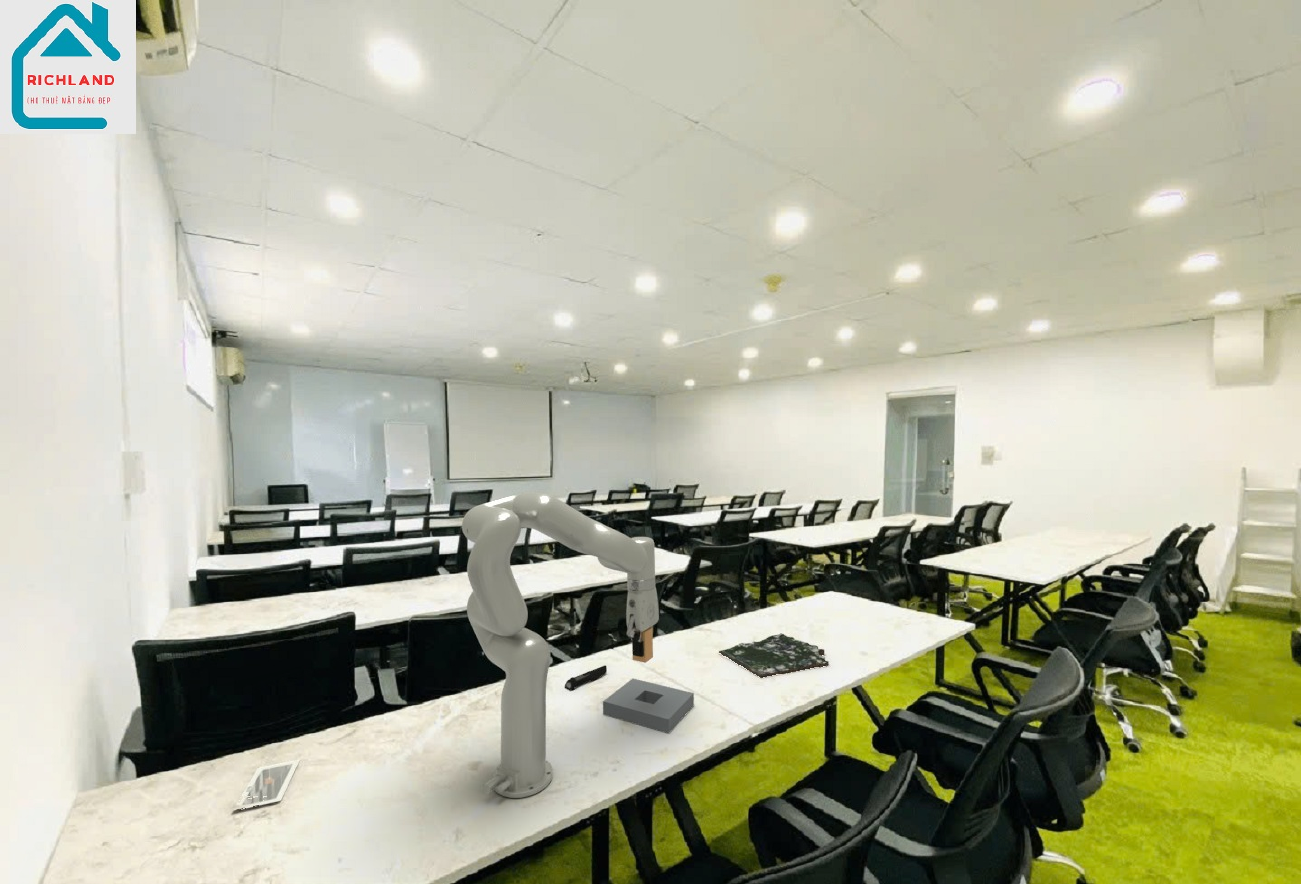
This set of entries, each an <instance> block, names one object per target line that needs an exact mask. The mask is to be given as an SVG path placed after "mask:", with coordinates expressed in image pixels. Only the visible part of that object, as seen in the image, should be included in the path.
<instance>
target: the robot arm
mask: <svg viewBox="0 0 1301 884" xmlns="http://www.w3.org/2000/svg"><path fill="white" fill-rule="evenodd" d="M523 528H527V529H533V530H535V531H538V532H539V533H540V534H543V535H545V536H546V537H549V538H551V539H552V540H555V541H557V542H559V543H560V544H561V545H563V546H565V547H567V548H569V549H571V550H573V551H576V552H578V553H581V554H585V555H589V556H592V557H596V558H597V560H598V562H599V564H600V565H601V566H603V567H604V568H607V569H609V570H613V571H617V572H618V571H619V572H622V573H626V575H627V578H626V579H627V581H626V582H627V598H626V613H625V615H626V620H625V621H626V626H627V631H626V636H627V637H630V640H631V641H632V642H631V643H632V649H631V650H632V656H633V655H635V656H639V657H643V656H644V641H642V634H643V631H645V630H647V629H648V628H650V627H652V632H653V633H654V626H655V625H656V624H657V623H658V622H659V620H660V618H659V617H660V616H659V615H660V613H659V599H658V593H657V588H656V561H655V560H656V559H655V558H656V556H655V555H656V553H655V552H656V551H655V550H656V549H655V542H654V539H653V538H651V537H647V536H633V537H629V536H628V535H626V534H624V533H622V532H620V531H618V530H616V529H613V528H612V527H609V526H607V525H605V524H603V523H601V522H600V521H598V520H595V519H593V518H591V517H589V516H588V515H585V514H583V513H582V512H581V511H578V510H577V509H575V508H573V507H572V506H570V505H569V504H567V503H566V502H564V501H563V500H560V498H557V497H556V496H554V495H552V494H549V493H545V492H536V491H535V492H533V491H523V492H519V493H515V494H513V495H509V496H505V497H503V498H499V499H496V500H493V501H488V502H485V503H482V504H478V505H476V506H474V507H472V508H470V509H469V510H468V511H467V512H466V513H465V515H464V517H463V519H462V523H461V530H462V533H463V535H464V536H465V538H466V539H467V540H469V541H471V543H473V545H472V548H471V552H470V553H469V557H468V560H467V567H466V571H467V572H466V573H467V577H468V581H469V584H470V587H471V589H472V592H471V593H470V595H469V597H468V600H467V603H466V613H467V618H468V621H469V622H470V625H471V627H472V629H473V632H474V634H475V635H476V638H477V640H478V643H479V644H480V646H481V649H482V650H483V652H484V654H485V656H486V657H487V659H488V660H489V661H490V662H491V663H492V664H493V665H495V666H497V667H499V668H500V669H502V671H504V672H505V679H504V680H505V681H504V684H503V688H502V691H501V698H500V710H501V711H500V712H501V714H500V724H501V725H500V764H498V765H497V766H496V771H495V772H494V775H493V777H492V778H491V779H490V780H488V781H486V782H485V783H484V784H483V788H482V789H483V792H484V793H485V794H487V795H488V794H489V795H490V793H491V792H493V791H494V790H495V792H496V793H497V794H499V795H500V796H502V797H506V798H508V799H509V798H510V799H511V798H512V799H518V798H519V799H521V798H525V797H526V798H527V797H531V796H533V795H536V794H537V793H539V792H541V791H543V790H544V789H546V787H547V786H548V785H549V784H550V782H551V781H552V780H553V775H554V772H553V771H554V770H553V765H552V764H551V763H550V762H549V761H548V760H546V759H547V757H546V756H547V754H546V753H547V748H546V747H547V746H546V745H547V743H546V740H547V739H546V738H547V737H546V736H547V735H546V734H547V723H546V722H547V705H546V703H547V699H546V698H547V681H548V673H549V669H550V668H549V667H550V662H551V651H550V646H549V645H548V643H547V641H546V640H545V639H544V638H543V637H542V636H541V635H540V634H538V633H537V632H535V631H532V630H531V629H528V628H526V627H525V626H526V625H527V623H528V622H527V621H528V618H529V617H528V607H527V604H526V602H525V598H524V597H523V595H522V592H521V591H520V588H519V586H518V583H517V581H516V579H515V577H514V573H513V570H512V567H511V563H510V562H511V554H512V553H513V550H514V548H515V545H516V544H517V542H518V540H519V538H520V536H521V532H522V529H523ZM636 627H637V628H636ZM635 631H637V632H639V636H638V634H637V633H635Z"/></svg>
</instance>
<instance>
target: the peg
mask: <svg viewBox="0 0 1301 884" xmlns="http://www.w3.org/2000/svg"><path fill="white" fill-rule="evenodd" d="M635 628H637V627H636V626H635ZM635 633H637V634H638V636H639V632H637V631H635ZM653 634H654V631H653V632H652V627H650V628H648V629H647V630H645V631H643V634H642V641H644V656H643V657H639V656H635V655H633V654H632V661H635V662H639V663H644V664H646V663H647V662H649V661H650V660H651V659H653V658H654V646H653V645H654V642H653V641H654V639H653V636H654V635H653Z"/></svg>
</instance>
